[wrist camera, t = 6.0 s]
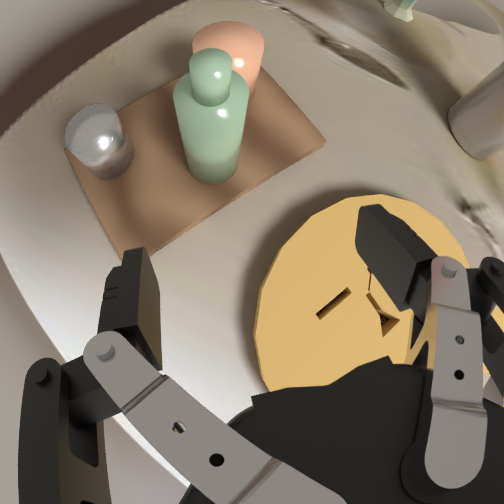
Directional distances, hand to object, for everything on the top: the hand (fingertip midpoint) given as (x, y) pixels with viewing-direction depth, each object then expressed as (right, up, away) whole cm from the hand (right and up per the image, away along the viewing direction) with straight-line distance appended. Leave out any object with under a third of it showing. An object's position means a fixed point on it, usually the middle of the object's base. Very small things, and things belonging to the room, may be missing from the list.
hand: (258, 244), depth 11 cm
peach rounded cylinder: (-3, +17, +19) cm, 26 cm away
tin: (-14, +9, +16) cm, 23 cm away
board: (-6, +11, +19) cm, 23 cm away
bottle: (-4, +8, +17) cm, 20 cm away
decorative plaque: (+14, -9, +19) cm, 25 cm away
